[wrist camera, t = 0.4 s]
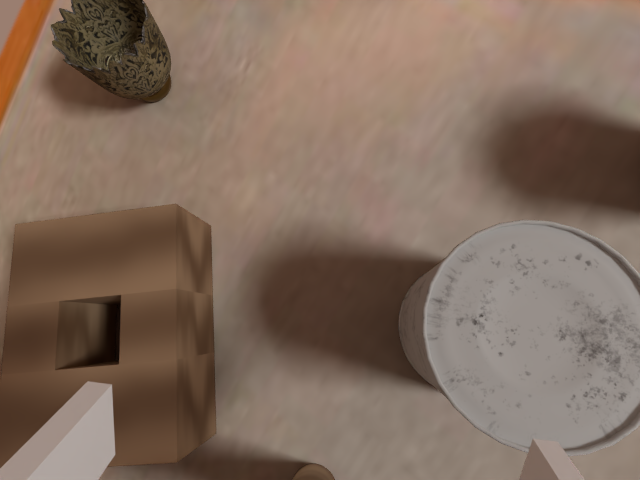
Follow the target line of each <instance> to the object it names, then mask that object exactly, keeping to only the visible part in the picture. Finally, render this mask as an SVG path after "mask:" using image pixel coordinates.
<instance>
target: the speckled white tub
mask: <svg viewBox="0 0 640 480" xmlns="http://www.w3.org/2000/svg"><path fill="white" fill-rule="evenodd" d="M398 330H399V335H400V341H401V345H402V347H403V350H404V352H405V355H406V357H407V359H408V360H409V362H410V363H411V365H412V366H413V368H414V369H415V370H416V372H418V373H419V374H420V375H421V376H422V377H423V378H424V379H425V380H426V381H427V382H428V383H430V384H431V385H433V386H434V387H435V388H437V389H438V390H439V391H440V392H441V393H442V394H443V395H444V396H445V397H446V398H447V399H448V400H449V401H450V402H451V404H452V405H453V407H454V408H455V409H456V410H458V411H459V412H460V413H461V414H462V415H463V416H464V417H465V418H466V419H467V420H468V421H469V422H470V423H471V424H472V425H473V426H474V427H475V428H477V429H479V430H480V431H482V432H483V433H485V434H487V435H488V436H490V437H492V438H493V439H495V440H496V441H498V442H500V443H501V444H504V445H507V446H510V447H512V448H515V449H518V450H521V451H524V452H526V453H528V452H529V449H530V446H531V443H532V440H533V439H541V440H549V441H556V442H559V444H560V445H561V447H562V448H563V450H564V451H565V452H566V454H567V455H568V456H575V455H585V454H589V453H592V452H595V451H598V450H600V449H603V448H606V447H609V446H611V445H614V444H616V443H617V442H618V441H620V440H621V439H623V438H624V437H625V436H627V435H628V434H630V433H631V432H633V431H634V430H635V429H637V428H638V426H639V425H640V274H639V273H638V272H637V270H636V269H635V268H634V267H633V266H632V265H631V264H630V263H629V262H628V261H627V260H626V258H625V257H624V256H622V255H621V254H620V253H618V252H617V251H616V250H614V249H613V248H612V247H610V246H609V245H608V244H606V243H605V242H603V241H602V240H601V239H599V238H596V237H594V236H592V235H590V234H588V233H586V232H584V231H582V230H580V229H578V228H575V227H571V226H567V225H563V224H559V223H555V222H551V221H539V220H519V221H512V222H506V223H499V224H497V225H494V226H491V227H489V228H486V229H484V230H481V231H479V232H476V233H475V234H473V235H472V236H470V237H469V238H467V239H466V240H464V241H463V242H461V243H460V244H459V245H457V246H456V247H455V248H454V249H453V250H452V251H451V252H450V253H449V255H448V256H447V257H446V258H445V259H443V260H442V261H441V262H440V263H439V264H437V265H436V266H435V267H434V268H432V269H431V270H430V271H428V272H427V273H425V274H424V275H422V276H421V277H419V278H418V280H417V281H416V282H415V283H414V284H413V285H412V286H411V287H410V288H409V290H408V292H407V294H406V296H405V297H404V299H403V302H402V305H401V309H400V313H399V326H398Z"/></svg>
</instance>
